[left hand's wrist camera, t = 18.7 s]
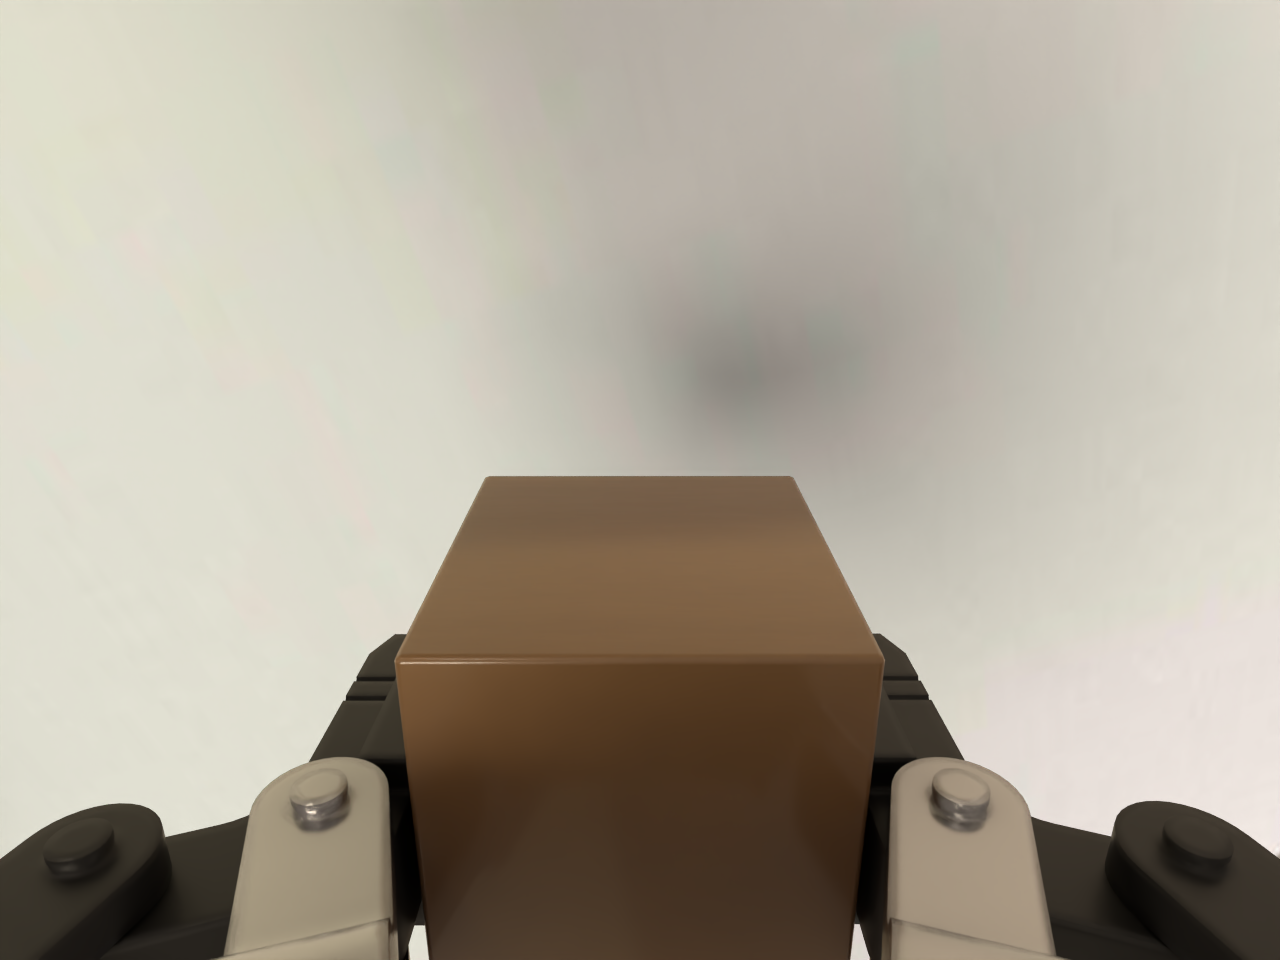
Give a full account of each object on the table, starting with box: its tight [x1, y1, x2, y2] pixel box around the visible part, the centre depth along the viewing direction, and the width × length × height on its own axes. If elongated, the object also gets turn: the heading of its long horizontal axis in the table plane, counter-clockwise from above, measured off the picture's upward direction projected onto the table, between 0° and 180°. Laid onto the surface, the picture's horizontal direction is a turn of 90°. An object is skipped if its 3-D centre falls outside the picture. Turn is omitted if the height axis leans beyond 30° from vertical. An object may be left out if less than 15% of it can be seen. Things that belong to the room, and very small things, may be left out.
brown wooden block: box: [394, 476, 885, 960], centre depth 10 cm, size 5×4×5 cm
